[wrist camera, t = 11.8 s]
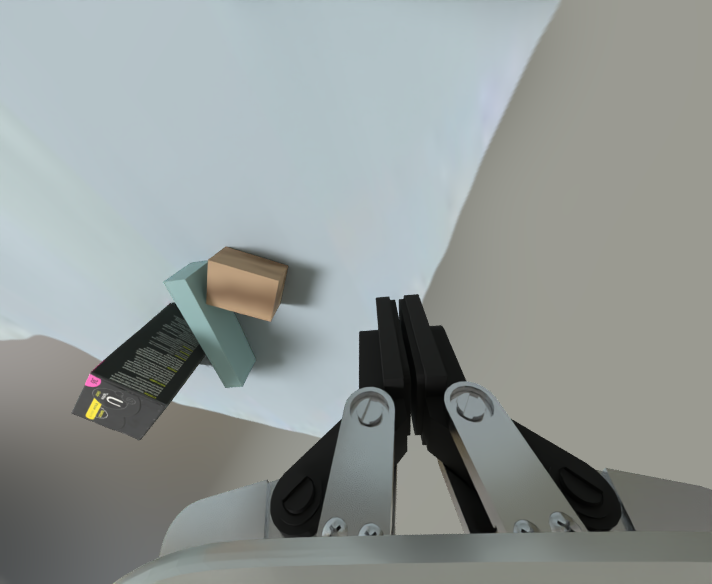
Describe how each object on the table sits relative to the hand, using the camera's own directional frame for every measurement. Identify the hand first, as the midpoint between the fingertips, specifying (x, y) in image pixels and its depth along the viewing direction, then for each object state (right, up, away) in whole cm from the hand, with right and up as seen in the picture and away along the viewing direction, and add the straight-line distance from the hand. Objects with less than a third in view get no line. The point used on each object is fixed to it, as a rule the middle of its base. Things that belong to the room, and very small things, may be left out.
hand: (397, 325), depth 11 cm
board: (-23, -3, +32) cm, 40 cm away
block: (-17, +4, +28) cm, 33 cm away
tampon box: (-32, -6, +35) cm, 47 cm away
